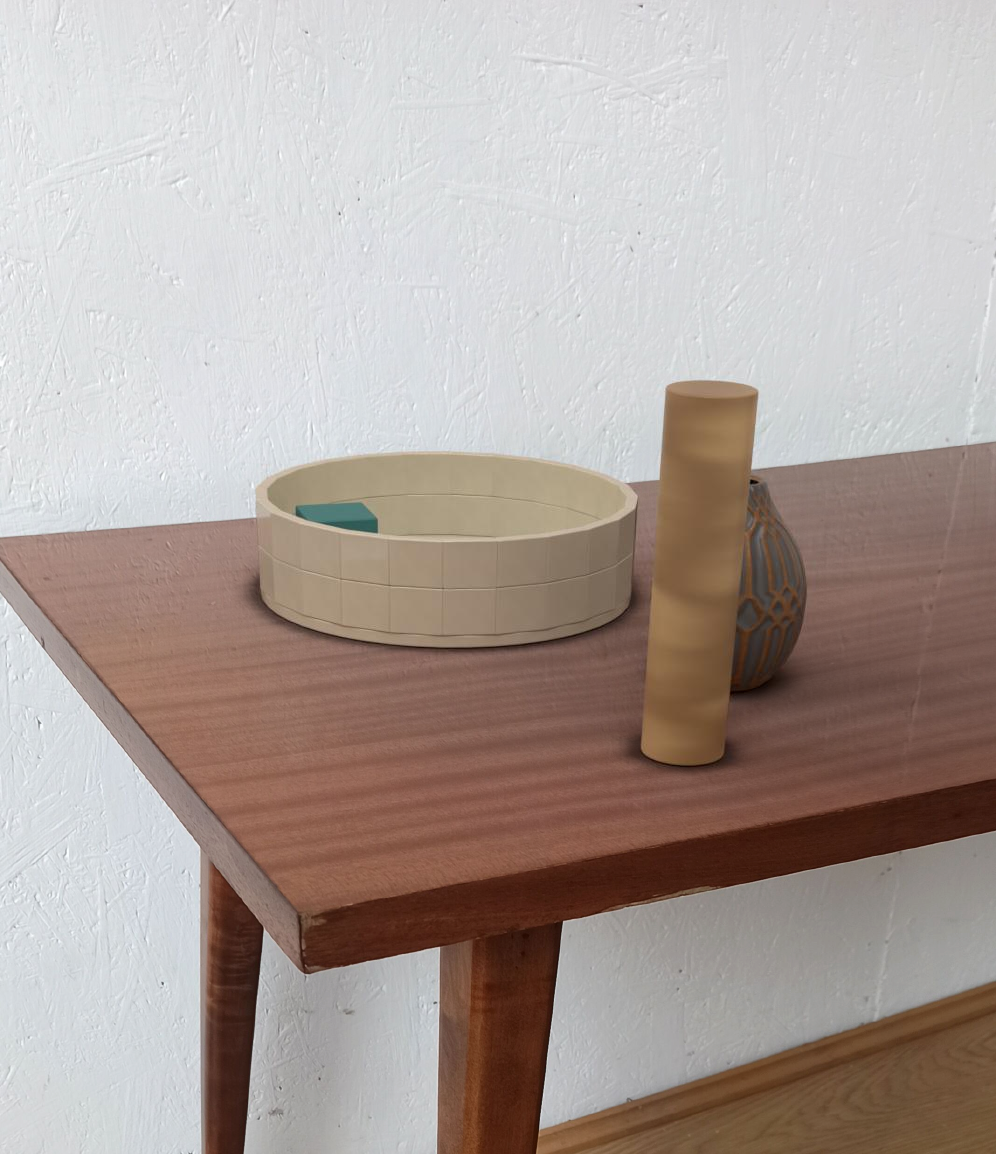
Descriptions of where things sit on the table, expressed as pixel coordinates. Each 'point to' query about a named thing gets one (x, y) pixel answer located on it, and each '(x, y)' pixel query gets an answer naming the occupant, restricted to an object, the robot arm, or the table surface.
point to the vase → (766, 593)
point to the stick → (697, 568)
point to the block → (340, 516)
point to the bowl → (448, 549)
